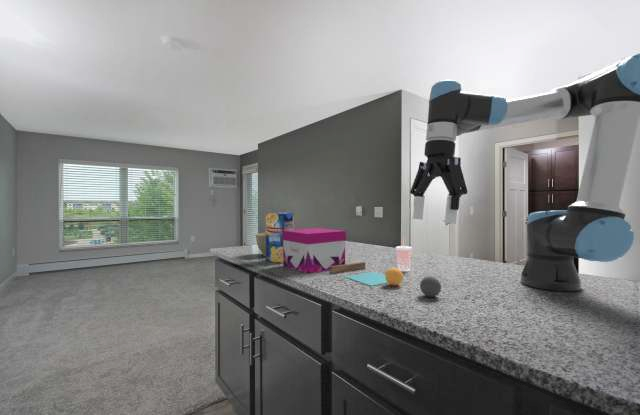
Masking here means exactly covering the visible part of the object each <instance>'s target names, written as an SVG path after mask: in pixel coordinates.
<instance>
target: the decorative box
mask: <svg viewBox="0 0 640 415" xmlns="http://www.w3.org/2000/svg"><path fill="white" fill-rule="evenodd" d="M282 240H283V260H284V263H283V267H286V266H287V267H286V268H289V267H290V268H289V269H292V268H293V270H295V269H296V271H298V270H299V272H301V271H302V273H304V272H305V274H307V273H309V274H314V273H320V272H326V271H330V266H337V265H345V264H346V241H347V231H346V230H340V229H329V228H320V227H316V228H315V227H314V228H304V229H303V228H300V229H294V230H283V231H282Z"/></svg>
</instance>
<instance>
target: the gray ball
mask: <svg viewBox="0 0 640 415" xmlns="http://www.w3.org/2000/svg"><path fill="white" fill-rule="evenodd" d="M419 287H420V288H419V289H420V291H421V292H422V293H423V295H424V296H426V297H429V298H434V297H436V296H439V294H440V293H441V291H442V286H441V282H440V280H438V278H436V277H433V276H426V277H424V278H423V279H421V281H420V285H419Z"/></svg>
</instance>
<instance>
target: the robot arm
mask: <svg viewBox="0 0 640 415" xmlns="http://www.w3.org/2000/svg"><path fill="white" fill-rule="evenodd" d="M427 114H428V115H427V123H426V136H425V140H426V142H425V144H424V154H423V155H424V156H425V157H426V158H427V160H426V162H425V161H419V164H418V168H417V169H418V170H417V172H416V175H415V178H414V179H413V182H412V186H411V188H410V190H409V193H410V194H411V195H413V196H414V200H413V214H412V219H413V220H423V218H424V217H423V216H424V210H425V209H424V207H425V193H426V191H427V190H428V188H429V186H430V185H431V183H432V181H433V180H435V179H436V178H439V177H440V178H441V179H442V181H443V184H444V185H445V188H446V190H447V192H448V194H447V196H446V204H445V214H444V215H445V216H444V223H445V224H455V225H456V224H457V216H458V210H459V208H460V199H461V197H462V196H463V195H467V194H468V188H467V185H466V181H465V177H464V173H463V170H462V167H461V165H462V164H461V163H462V161H461V160H462V158H461V157H458V156H455V151H456V143H455V142H456V141H457V137H458V136H459V137H460V136H461V135H463V134H468V133H473V132H476V131H483V130H489V129H493V128H499V127H507V126H510V125H516V124H522V123H527V122H533V121H538V120H544V119H545V120H546V119H549V118H550V119H552V120H556V121H558V120H562V119H563V120H565V119H569V118H570V119H572V118H577V117H586V116H593V117H594V118H595V120H594V124H593V128H592V131H591V132H592V133H591V136H590V141H589V146H588V149H587V152H586V153H587V154H586V158H585V163H584V168H583V172H582V176H581V180H580V185H579V189H578V192H577V197H576V201H575V202H573V203H571V204H570V205H568V206H567V209H566V210H564V209H563V210H562V209H561V210H544V211H543V210H542V211H534V212H531V213H529V214H528V216H527V220H526V221H527V222H526V242H527V243H526V247H527V248H526V249H527V251H526V256H527V257H526V261H525V264H524V266H523V269H522V270H521V274H520V283H522V284H523V285H525V286H529V287H532V288H535V289H542V290H546V291H548V290H549V291H555V292H577V291H581V290H582V282H581V278H580V275H579V273H578V271H577V268H576V265H575V263H574V258H578V259H582V260H585V261H590V262H600V263H608V262H610V263H611V262H614V261H616V260H618V259H619V258H622V257H624V256H625V255H626V254H627V253H628V252H629V251H630V250H631V247H632V246H633V244H634V239H635V233H634V230H632V226H631V224H630V223H629V221H626V220H625V219H626V218H625V217H626V212H625V211H623V209H622V208H621V207H620V204H621V199H622V194H623V190H624V186H625V183H626V182H625V181H626V177H627V173H628V169H629V166H630V165H629V164H630V159H631V155H632V152H633V148H634V147H633V146H634V143H635V139H636V134H637V131H638V125H639V123H640V122H639V121H640V53H636V54H633V55H631V56H628V57H624V58H621V59H620V60H619V61H618V62H616V63H613V64H612V65H609V66H606V67H604V68H602V69H600V70H598V71H595V72H593V73H592V74H589V75H587V76H585V77H583V78H580V79H578V80H576V81H574V82H572V83H570V84H566V85H563V86H560V87H555V88H553V89H552V90H550V92H545V93H539V94H535V95H530V96H528V95H527V96H523V97H518V98H511V99H506V98H505V97H504V96H500V95H494V94H492V93H491V94H486V93H475V92H474V93H472V92H466V91H462V84H461V82H459V81H456V80H454V79H445V80H440V81H437V82H435V83H434V84H433V85H432V86H431V88H430V94H429V100H428V113H427Z"/></svg>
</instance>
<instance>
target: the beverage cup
mask: <svg viewBox="0 0 640 415" xmlns="http://www.w3.org/2000/svg"><path fill="white" fill-rule="evenodd" d="M395 250H396V260H397V261H396V262H397V269H399V270H400V271H401V272H410V271H411V258H412V250H413V247H412V246H407V245H405V234H404V233H402V245H398V246H395Z"/></svg>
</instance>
